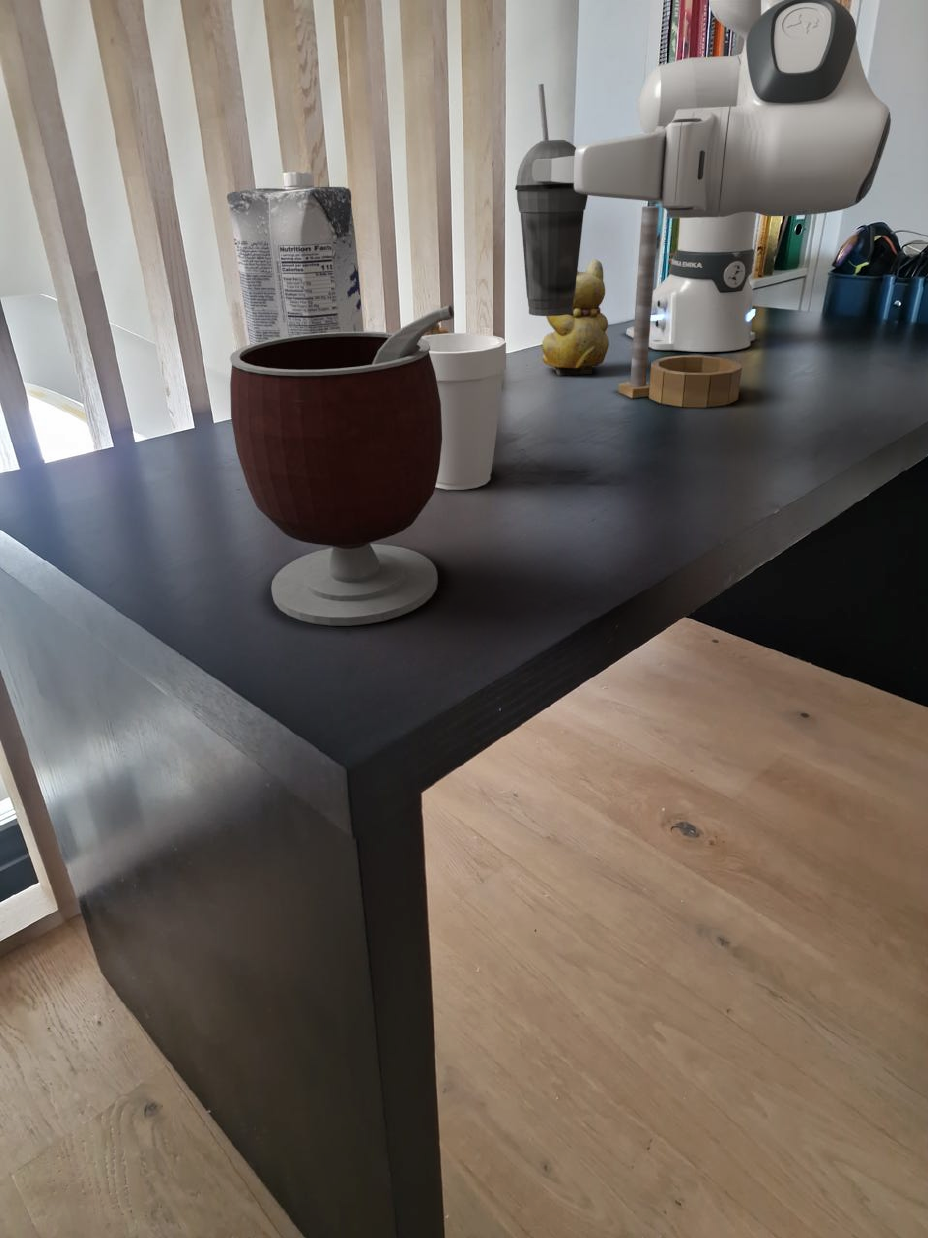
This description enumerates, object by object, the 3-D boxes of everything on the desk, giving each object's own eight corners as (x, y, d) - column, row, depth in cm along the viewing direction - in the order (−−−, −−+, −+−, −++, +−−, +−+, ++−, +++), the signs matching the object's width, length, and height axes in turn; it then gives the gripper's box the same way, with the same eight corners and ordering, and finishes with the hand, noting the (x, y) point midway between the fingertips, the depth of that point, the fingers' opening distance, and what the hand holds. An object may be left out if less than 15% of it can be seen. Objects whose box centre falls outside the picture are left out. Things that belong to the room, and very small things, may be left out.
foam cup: (460, 457, 88) (456, 329, 81) (525, 476, 82) (526, 340, 75) (391, 480, 82) (381, 344, 75) (456, 503, 76) (451, 357, 70)
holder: (618, 392, 109) (629, 206, 99) (702, 381, 113) (721, 201, 102) (665, 413, 100) (683, 210, 89) (755, 401, 104) (782, 204, 93)
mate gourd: (222, 614, 58) (164, 316, 49) (320, 538, 70) (289, 284, 60) (424, 649, 53) (404, 325, 44) (494, 562, 65) (490, 289, 55)
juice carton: (344, 470, 85) (313, 171, 72) (257, 461, 88) (211, 175, 75) (381, 445, 92) (359, 169, 79) (299, 437, 96) (264, 172, 82)
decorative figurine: (594, 363, 125) (599, 255, 118) (619, 374, 118) (627, 260, 111) (535, 369, 122) (536, 259, 115) (557, 381, 116) (560, 265, 108)
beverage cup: (583, 317, 82) (590, 76, 72) (510, 318, 83) (508, 81, 74) (588, 307, 88) (596, 84, 78) (520, 307, 89) (520, 88, 80)
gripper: (700, 127, 83) (563, 133, 87) (687, 120, 66) (518, 129, 70) (694, 197, 86) (562, 200, 90) (680, 209, 69) (518, 212, 73)
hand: (542, 169), depth 80 cm, fingers closed on beverage cup, 7 cm apart
